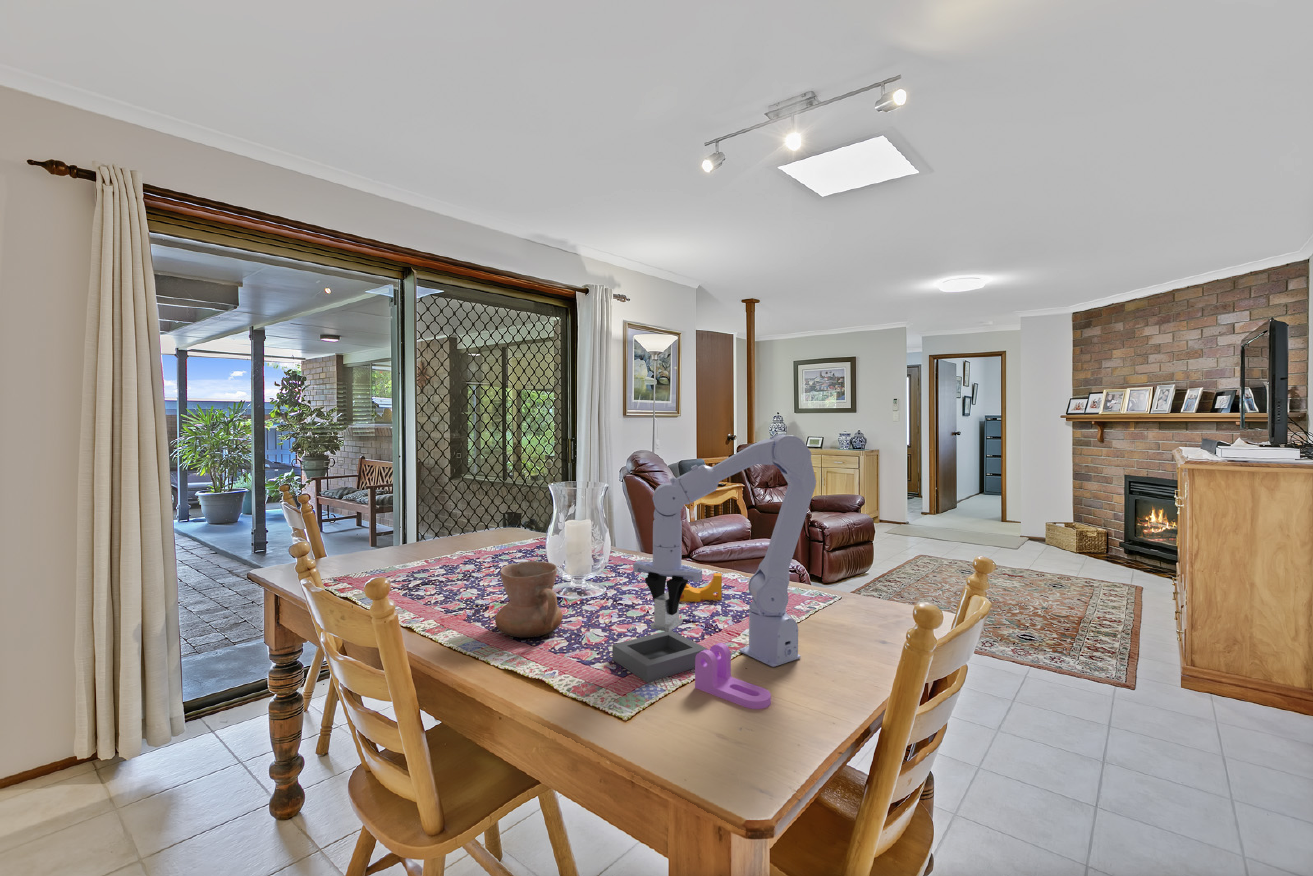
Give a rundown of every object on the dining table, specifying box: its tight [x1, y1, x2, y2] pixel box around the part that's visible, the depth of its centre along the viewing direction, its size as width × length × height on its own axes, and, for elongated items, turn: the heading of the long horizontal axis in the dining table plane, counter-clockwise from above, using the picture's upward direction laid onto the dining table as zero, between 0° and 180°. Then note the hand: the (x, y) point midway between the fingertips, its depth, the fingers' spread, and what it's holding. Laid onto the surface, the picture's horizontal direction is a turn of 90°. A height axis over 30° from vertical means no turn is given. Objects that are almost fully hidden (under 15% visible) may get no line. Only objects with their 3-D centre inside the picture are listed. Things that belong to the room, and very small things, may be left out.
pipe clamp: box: [679, 572, 723, 603], centre depth 154 cm, size 12×4×6 cm, turn 88°
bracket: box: [694, 642, 772, 710], centre depth 101 cm, size 13×6×7 cm, turn 49°
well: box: [611, 630, 709, 683], centre depth 114 cm, size 12×14×3 cm
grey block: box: [650, 591, 683, 632], centre depth 118 cm, size 4×6×6 cm, turn 151°
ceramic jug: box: [494, 560, 564, 638], centre depth 130 cm, size 18×14×14 cm
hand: (666, 612), depth 118 cm, fingers closed on grey block, 2 cm apart
